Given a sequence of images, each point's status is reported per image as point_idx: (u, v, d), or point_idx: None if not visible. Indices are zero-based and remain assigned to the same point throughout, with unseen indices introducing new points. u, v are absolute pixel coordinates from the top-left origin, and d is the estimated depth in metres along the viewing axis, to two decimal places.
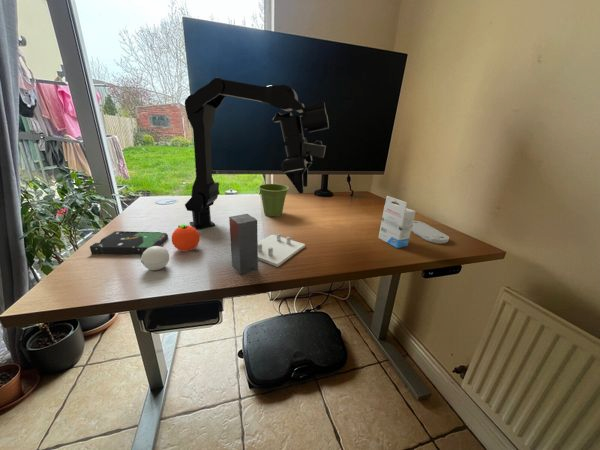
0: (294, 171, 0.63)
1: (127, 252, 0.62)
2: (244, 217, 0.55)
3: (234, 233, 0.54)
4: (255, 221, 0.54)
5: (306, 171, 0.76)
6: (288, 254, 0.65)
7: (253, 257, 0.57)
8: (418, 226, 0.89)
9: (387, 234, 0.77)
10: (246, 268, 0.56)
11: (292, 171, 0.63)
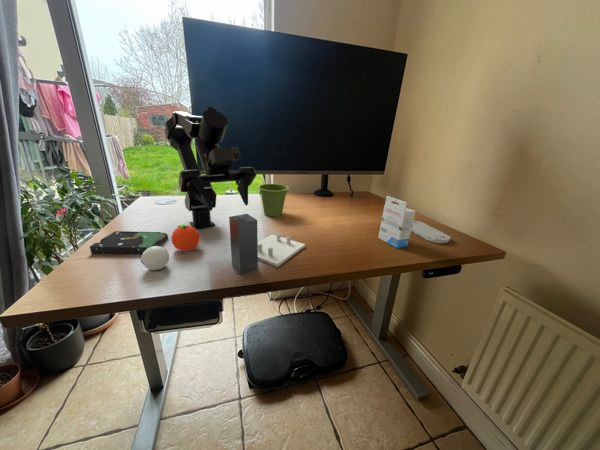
0: (188, 187, 0.57)
1: (127, 252, 0.62)
2: (244, 217, 0.55)
3: (233, 233, 0.54)
4: (255, 221, 0.54)
5: (243, 187, 0.63)
6: (288, 254, 0.65)
7: (253, 257, 0.57)
8: (418, 226, 0.89)
9: (387, 234, 0.77)
10: (246, 268, 0.56)
11: (188, 188, 0.57)
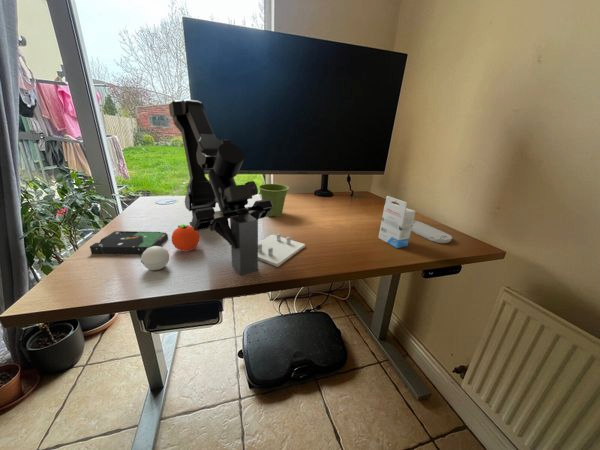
0: (212, 224, 0.54)
1: (127, 252, 0.62)
2: (245, 217, 0.55)
3: (234, 233, 0.54)
4: (256, 221, 0.54)
5: None
6: (288, 254, 0.65)
7: (253, 257, 0.57)
8: (418, 226, 0.89)
9: (387, 234, 0.77)
10: (246, 268, 0.56)
11: (211, 225, 0.54)
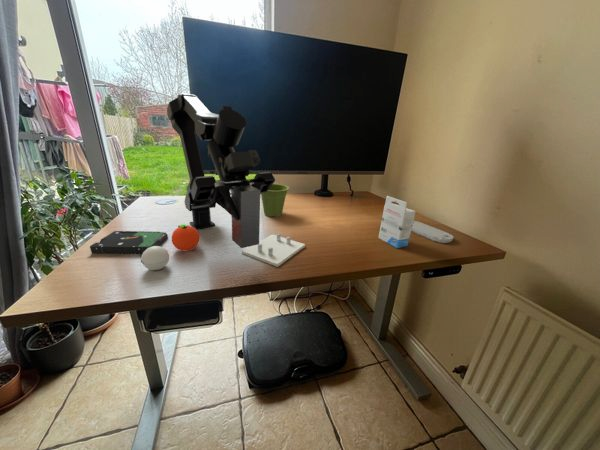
0: (212, 194, 0.52)
1: (127, 251, 0.62)
2: (247, 187, 0.53)
3: (235, 203, 0.52)
4: (258, 191, 0.52)
5: None
6: (288, 254, 0.65)
7: (255, 230, 0.55)
8: (418, 226, 0.89)
9: (387, 234, 0.77)
10: (247, 241, 0.54)
11: (212, 195, 0.52)
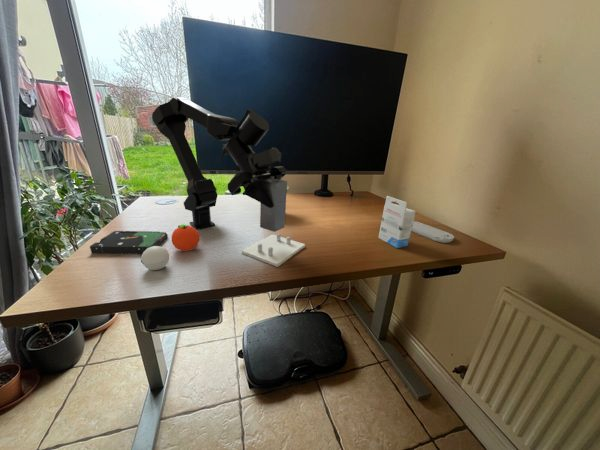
0: (248, 188, 0.59)
1: (127, 251, 0.62)
2: (274, 180, 0.62)
3: (267, 194, 0.61)
4: (286, 182, 0.62)
5: None
6: (288, 254, 0.65)
7: (282, 215, 0.65)
8: (418, 226, 0.89)
9: (387, 234, 0.77)
10: (278, 225, 0.64)
11: (246, 189, 0.59)
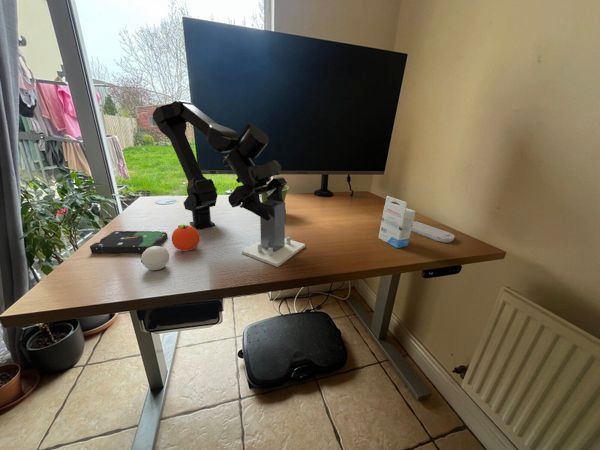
0: (245, 201, 0.59)
1: (127, 251, 0.62)
2: (272, 202, 0.65)
3: None
4: (284, 203, 0.64)
5: (278, 197, 0.67)
6: (288, 254, 0.65)
7: (282, 235, 0.67)
8: (418, 226, 0.89)
9: (387, 234, 0.77)
10: (278, 245, 0.66)
11: (243, 202, 0.60)
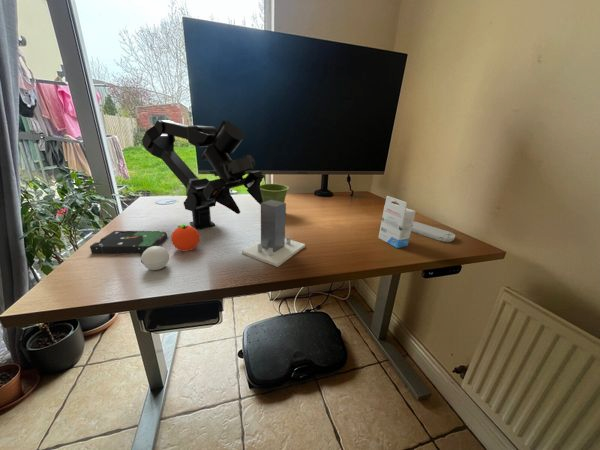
0: (215, 195, 0.63)
1: (127, 251, 0.62)
2: (273, 202, 0.64)
3: (267, 216, 0.63)
4: (284, 204, 0.64)
5: (256, 189, 0.72)
6: (288, 254, 0.65)
7: (282, 236, 0.67)
8: (418, 226, 0.88)
9: (387, 234, 0.77)
10: (278, 245, 0.66)
11: (214, 196, 0.63)
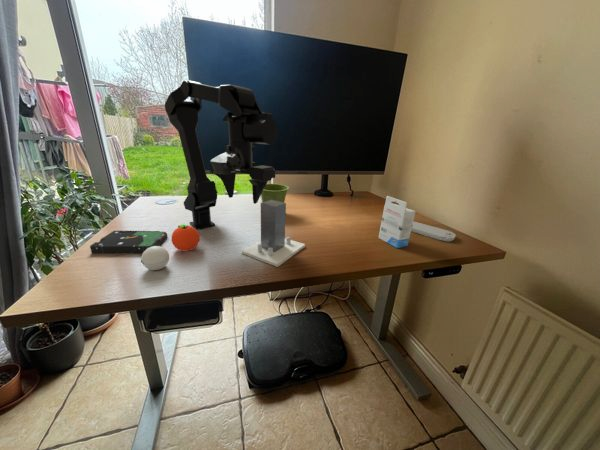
0: None
1: (128, 251, 0.62)
2: (273, 202, 0.64)
3: (267, 216, 0.63)
4: (284, 204, 0.64)
5: None
6: (288, 254, 0.65)
7: (282, 236, 0.67)
8: (418, 226, 0.88)
9: (387, 234, 0.77)
10: (278, 245, 0.66)
11: None
